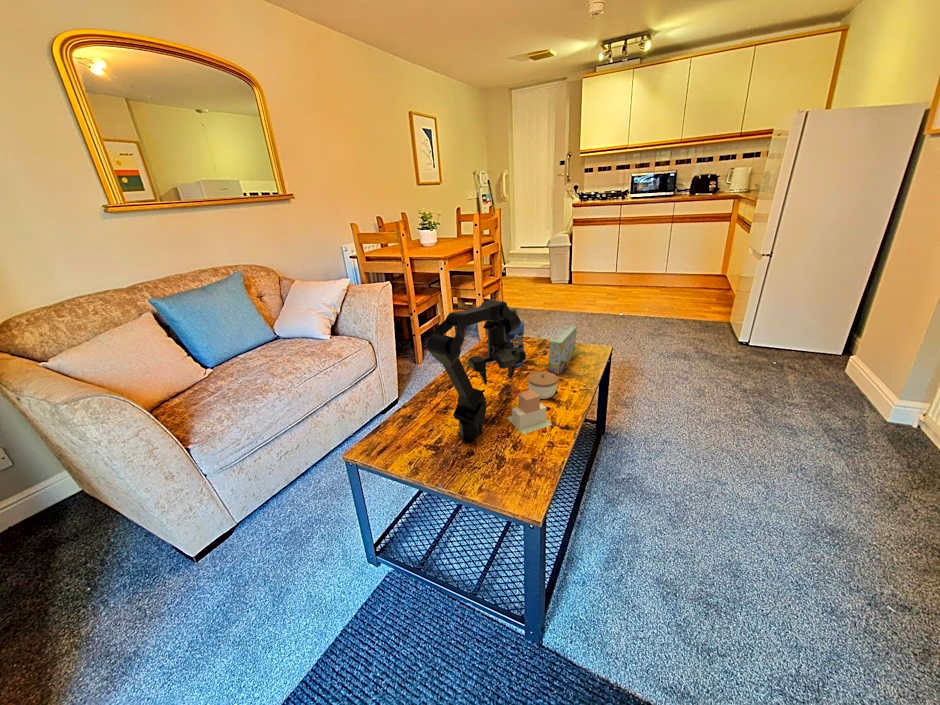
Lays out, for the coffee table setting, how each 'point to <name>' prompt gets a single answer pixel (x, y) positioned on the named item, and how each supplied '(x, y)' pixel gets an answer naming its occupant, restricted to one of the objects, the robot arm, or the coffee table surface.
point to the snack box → (562, 349)
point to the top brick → (529, 401)
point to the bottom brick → (528, 417)
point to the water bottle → (516, 339)
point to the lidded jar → (543, 384)
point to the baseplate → (532, 427)
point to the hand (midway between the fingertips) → (498, 381)
